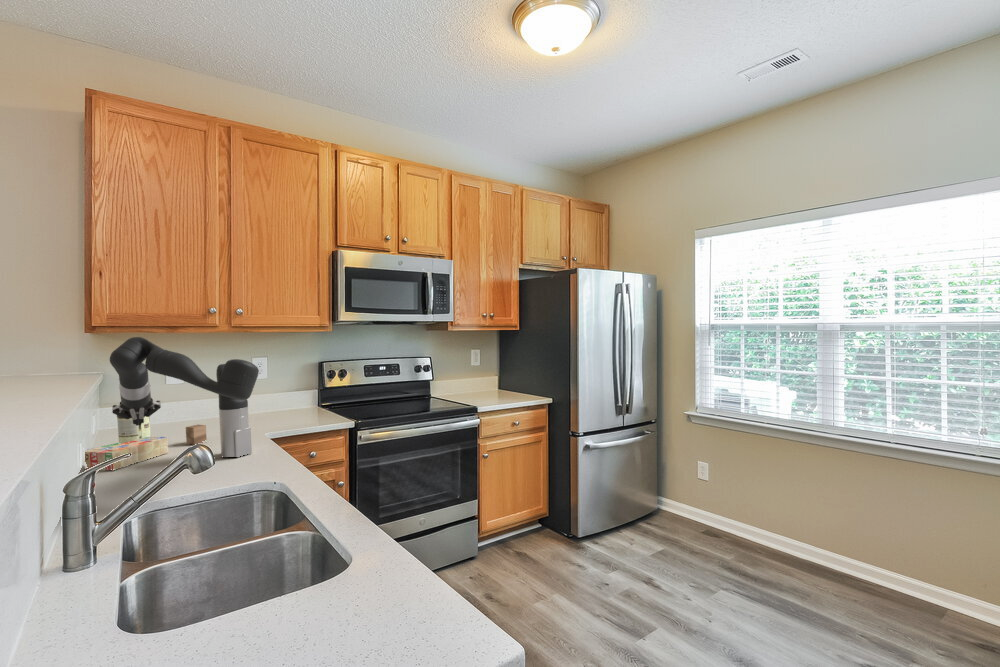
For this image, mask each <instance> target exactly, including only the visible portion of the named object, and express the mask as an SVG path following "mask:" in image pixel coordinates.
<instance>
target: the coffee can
mask: <svg viewBox="0 0 1000 667" xmlns="http://www.w3.org/2000/svg"><path fill="white" fill-rule="evenodd" d="M137 414H139V412H137ZM150 417H151V416H149V417H146V416H145V417H144V423H141V425H137V426H136V424H133V419H132V418H130V419H125V418H122V417H120V416H118V415H116V418H117V432H118V433H117V434H118V443H126V442H130V441H133V440H136V439H140V438H145V437H152V434H151V433H152V432H151V420H150Z"/></svg>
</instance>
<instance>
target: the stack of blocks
mask: <svg viewBox="0 0 1000 667" xmlns="http://www.w3.org/2000/svg"><path fill="white" fill-rule="evenodd" d="M126 453H132V456H131V457H129V458H127V459H124V460H121V461H118V462H116V463H113V464H111V465H109V466H107V467H105V468H103V469H101V470H100V471H102V472H103V471H104V472H106V471H105V470H111V469H112V470H113V469H118V468H121V467H124V468H126V467H125V466H127V465H130V464H132V465H135V464H137V463H136V462H138V463H141V462H144V461H148V460H151V459H154V458H157V457H160V456H161V455H165V454H168V453H169V445H168V436H151V437H145V438H140V439H136V440H133V441H130V442H126V443H119V442H116V443H110V444H107V445H103V446H100V447H95V448H91V449H88V450H85V462H86V464H87V467H88V468H86V469H89V468H91V467H93V466H95V465H97V464H100V463H102V462H105V461H107V460H110V459H113V458H115V457H118V456H120V455H123V454H126ZM156 456H157V457H156ZM153 457H154V458H153ZM150 458H151V459H150ZM147 459H148V460H147ZM134 463H135V464H134ZM130 466H131V465H130ZM127 467H128V466H127ZM121 469H122V468H121ZM118 470H119V469H118Z"/></svg>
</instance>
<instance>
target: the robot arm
mask: <svg viewBox="0 0 1000 667" xmlns="http://www.w3.org/2000/svg"><path fill="white" fill-rule="evenodd" d="M109 363H110V365H111V366H112V367H113V369H114V371H115V372H116V374H118V381H119V384H118V385H119V386H118V389H119V395H120V402H119V404H118V405H117V404H114V405H112V412H111V413H112V414H113V415H116V416H117V415H118V416H120V417H122V418H125V419H130V418H132V419H133V424H136V426H137V425H141V423H144V417H145V416H146V417H151V416H152V415H153V414H154V413H156V412H158V411H159V410H160V409H161V407H162V406H161V400H156V401H155V400H154V399H153V397H152V396H151V395H152V394H151V383H150V380H149V379H150V378H149V372H151V373H154V374H159V375H162V376H166V377H170V378H174V379H177V380H181V381H183V382H185V383H188V384H190V385H193V386H194V387H197V388H201V389H203V390H205V391H209V392H211V393H214V394H217V395H218V414H219V418H218V419H219V435H220V439H219V440H220V450H221V451H220V453H221V454H220V455H221V456H223V457H238V458H241V457H244V456H243V455H245V456H247V454H248V455H251V454H252V453H253V450H252V432H251V431H252V430H251V427H250V424H249V423H250V420H249V419H250V417H249V403H248V402H249V401H248V399H249V398H251V395H252V393H253V391H254V388H255V385H256V382H257V379H258V378H259V370H260V369H259V367H258V366H257V365H255V364H254V363H253V362H250V361H248V360H244V359H237V358H234V359H233V358H232V359H228V360H227V361H226V362H225V363H222V364H221V363H219V365H217V367H216V371H215V372H216V381H215V380H214V379H211V378H210V377H209V376H207V375H206V373H204V372H203V370H202V369H201V368H200V367H199V366H198V365H197V363H196V362H195V361H194V360H193V359H191V357H189V356H188V355H185V354H182V353H180V352H177V351H172V350H168V349H164V348H162V347H161V346H158V345H156V344H155V343H153V342H152V341H149V340H148V339H146V338H145V337H141V336H133V337H129V338H128V339H127V340H125V341H124V342H123V343H122V344H120V345H119V346H118V347H117V348H116V349H114V350H113V351H112V352H111V354H110V357H109ZM137 412H139V414H137ZM240 456H241V457H240ZM223 457H222V458H223Z"/></svg>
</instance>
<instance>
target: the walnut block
mask: <svg viewBox="0 0 1000 667" xmlns="http://www.w3.org/2000/svg"><path fill="white" fill-rule="evenodd" d="M185 438H186V439H185V440H186V441H185V442H186V445H187V444H192V445H191V446H196V445H195V444H198V443H202V444H204V443H203V442H202V441H205V440H207V439H208V438H207V425H206V424H198V423H197V424H195V425H190V426H185ZM198 445H199V444H198Z"/></svg>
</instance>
